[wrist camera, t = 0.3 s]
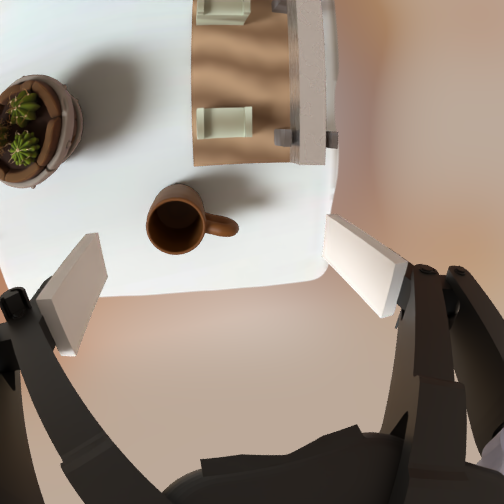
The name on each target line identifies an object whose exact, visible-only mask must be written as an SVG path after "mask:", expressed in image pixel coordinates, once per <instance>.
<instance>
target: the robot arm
mask: <svg viewBox="0 0 504 504" xmlns="http://www.w3.org/2000/svg"><path fill="white" fill-rule="evenodd" d="M322 257H323V258H324V259H325V260H326V261H327V262H328V263H329V264H330V265H331V266H332V267H333V268H334V269H335V270H336V271H337V272H338V273H339V274H340V275H341V277H343V279H344V280H345V281H346V282H347V283H348V284H349V285H350V286H351V287H352V288H353V289H354V290H355V291H356V292H357V293H358V294H359V295H360V296H361V297H362V298H363V300H364V301H366V303H367V304H368V305H369V306H370V307H371V308H372V309H373V310H374V311H375V312H376V314H377V315H378V316H379V317H380V318H384V317H387V316H391V315H393V314H394V311H395V308H396V304H398V305H399V306H400V307H401V311H400V314H399V318H398V320H397V323H396V326H395V328H396V329H397V327H398V334H397V343H396V352H395V359H394V367H393V373H392V380H391V385H390V390H389V396H388V401H387V406H386V410H385V415H384V420H383V424H382V428H381V430H380V433H374V432H369V433H361V431H360V429H359V427H358V425H354V426H351V427H348V428H345V429H342V430H340V431H336V432H333V433H331V434H327V435H324V436H322V437H320V438H318V439H317V440H315V441H313V442H312V443H309V444H308V445H306V446H304V447H302V448H300V449H298V450H296V451H294V452H292V453H290V454H288V455H243V454H242V455H236V456H227V457H219V458H211V459H200V461H201V467H202V469H199V470H196V471H193V472H191V473H189V474H186V475H184V476H182V477H181V478H179V479H177V480H176V481H175V482H173V483H172V484H170V485H169V487H167V488H166V489H165V490H164V491H163V492H162V493H161V492H160V491H159V490H158V489H157V488H156V487H155V486H154V485H153V484H151V483H150V482H149V481H148V480H147V479H146V478H145V477H144V476H143V475H142V474H141V473H140V471H139V470H137V468H136V467H135V466H134V465H133V464H132V463H131V462H130V461H129V460H128V459H127V458H126V456H125V455H124V454H123V453H122V452H121V451H120V450H119V448H118V447H117V446H116V445H115V444H114V442H112V440H111V439H110V438H109V436H108V435H107V434H106V433H105V431H104V430H103V429H102V428H101V426H100V425H99V424H98V422H97V421H96V420H95V418H94V417H93V416H92V414H91V413H90V411H89V410H88V409H87V407H86V405H85V404H84V403H83V401H82V400H81V398H80V397H79V395H78V394H77V392H76V390H75V389H74V387H73V386H72V384H71V382H70V381H69V379H68V378H67V376H66V374H65V373H64V371H63V369H62V367H61V366H60V364H59V362H58V361H57V358H56V357H55V355H54V353H53V350H54V348H55V346H56V347H57V349H58V351H59V352H60V354H61V356H76V355H77V352H78V349H79V346H80V343H81V341H82V338H83V335H84V333H85V330H86V327H87V325H88V322H89V320H90V317H91V314H92V312H93V310H94V307H95V305H96V302H97V300H98V298H99V295H100V293H101V291H102V289H103V286H104V284H105V282H106V280H107V277H108V276H107V272H106V268H105V263H104V259H103V254H102V250H101V245H100V240H99V235H98V233H91V234H86V235H85V236H84V237H83V238H82V239H81V241H80V242H79V243H78V244H77V245H76V247H75V248H74V249H73V250H72V252H71V253H70V254H69V255H68V257H67V258H66V259H65V260H64V262H63V263H62V264H61V265H60V267H59V268H58V269H57V271H56V272H55V273H54V275H53V276H51V277H49V278H48V279H47V280H45V281H44V282H43V284H42V285H41V286H40V289H38V290H37V292H36V294H35V295H34V296H33V297H32V299H31V300H30V301H29V299H28V296H27V293H26V291H25V289H24V288H23V287H15V288H12V289H9V290H8V291H6V292H5V293H3V294H2V295H1V297H0V308H1V310H2V312H3V314H4V317H5V319H6V321H7V322H5V323H1V324H0V504H45V503H44V500H43V497H42V494H41V491H40V488H39V485H38V482H37V478H36V474H35V471H34V467H33V463H32V458H31V454H30V449H29V445H28V439H27V434H26V428H25V422H24V414H23V406H22V395H21V383H20V370H21V373H22V376H23V378H24V381H25V384H26V386H27V389H28V391H29V394H30V396H31V399H32V401H33V404H34V406H35V408H36V410H37V413H38V415H39V417H40V419H41V421H42V423H43V425H44V427H45V429H46V431H47V433H48V435H49V437H50V439H51V441H52V443H53V444H54V446H55V448H56V450H57V452H58V453H59V455H60V457H61V459H62V461H63V463H61V468H62V470H63V472H64V474H65V476H66V477H67V478H68V480H69V482H70V483H71V485H72V486H73V488H74V489H75V491H76V492H77V493H78V495H79V496H80V498H81V499H82V500H83V502H84V503H85V504H504V319H503V318H502V316H501V315H500V313H499V312H498V310H497V309H496V307H495V306H494V304H493V303H492V302H491V300H490V299H489V297H488V296H487V295H486V293H485V292H484V291H483V289H482V288H481V287H480V285H479V284H478V283H477V281H476V280H475V279H474V277H473V276H472V275H471V274H470V273H469V272H468V271H467V270H466V269H464V268H463V267H460V266H450V267H449V268H448V271H447V275H439V273H438V272H437V270H436V269H434V268H432V267H430V266H428V265H422V264H417V265H415V266H414V265H412V264H411V263H410V262H408V261H407V260H405V259H404V258H403V257H401V256H400V255H398V254H397V253H395V252H394V251H393V250H391V249H390V248H388V247H386V246H385V245H383V244H382V243H380V242H379V241H377V240H376V239H375V238H373V237H372V236H370V235H369V234H367V233H366V232H364V231H363V230H361V229H359V228H358V227H356V226H355V225H353V224H352V223H350V222H349V221H347V220H345V219H344V218H343V217H341V216H339V215H338V214H330V215H326V224H325V234H324V244H323V253H322ZM458 310H459V311H458ZM454 370H455V373H456V376H457V378H458V382H455V381H454ZM466 409H467V412H468V417H469V421H470V424H471V429H472V432H473V436H474V439H475V443H476V445H477V448H478V451H479V453H480V455H481V457H482V459H481V460H480V461H479V462H478V463H477V465H475V464H471V463H468V462H465V456H466V434H467V433H466V432H467V415H466Z"/></svg>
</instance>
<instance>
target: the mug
mask: <svg viewBox="0 0 504 504" xmlns="http://www.w3.org/2000/svg"><path fill="white" fill-rule="evenodd" d="M146 230H147V235H148V237H149V239H150V241H151V242H152V244H153V245H154V246H155V247H156V248H157V249H159V250H160V251H162V252H165V253H167V254H172V255H179V254H184V253H187V252H190V251H191V250H193V249H194V248H196V247H197V246H198V245H199V244H200V242H201V241H202V239H203V237H204V234H205V233H208V234H213V235H217V236H222V237H231V236H234V235H235V234H236V233H237V232H238V230H239V226H238V224H237V223H236V222H235V221H234V220H232V219H230V218H227V217H224V216H219V215H213V214H209V213H206V212H205V211H204V207H203V203H202V200H201V198H200V196H199V194H198V193H197V192H196V191H195V190H194V189H193V188H191V187H189V186H187V185H183V184H174V185H170V186H168V187H166V188H164V189H163V190H162V191H160V193H159V194H158V195H157V197H156V198H155V200H154V202H153V204H152V206H151V208H150V210H149V213H148V216H147V222H146Z"/></svg>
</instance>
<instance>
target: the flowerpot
mask: <svg viewBox="0 0 504 504" xmlns="http://www.w3.org/2000/svg"><path fill="white" fill-rule="evenodd" d="M82 130H83V116H82V111H81V108H80V106H79V104H78V99H75V98H74V97H73V96H72V95H70V94H69V92H68V90H67V85H63V84H62V83H60V82H59V81H57V80H56V79H54V78H52V77H49V76H46V75H28V76H23V77H22V78H20V79H18V80H16V81H15V82H14V83H12V84H11V85H10V86H9V87H8V88H7V89H6V90H5V91H4V92H3V93H2V94H1V95H0V181H1V182H3V183H5V184H6V185H8V186H11V187H15V188H28V187H31V188H32V189H34V188H35V187H36V185H37V184H40V183H41V182H43V181H44V180H46V179H47V178H48V177H49V176H50V175H52V174H53V173H54V172H55V171H56V170H57V169H58V167H59V166H60V164H61V163H63V162H64V161H65V160H66V159H67V158H68V157H69V156H70V155H71V154H72V153H73V151H74V150H75V149H76V147H77V145H78V143H79V142H80V141H81V135H82Z"/></svg>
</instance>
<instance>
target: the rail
mask: <svg viewBox="0 0 504 504" xmlns="http://www.w3.org/2000/svg"><path fill="white" fill-rule="evenodd" d="M287 18H288V42H289V78H290V129H292V147H290V162H293V163H296V164H299V165H325V151H326V75H325V50H324V32H323V18H322V7H321V0H287Z"/></svg>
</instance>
